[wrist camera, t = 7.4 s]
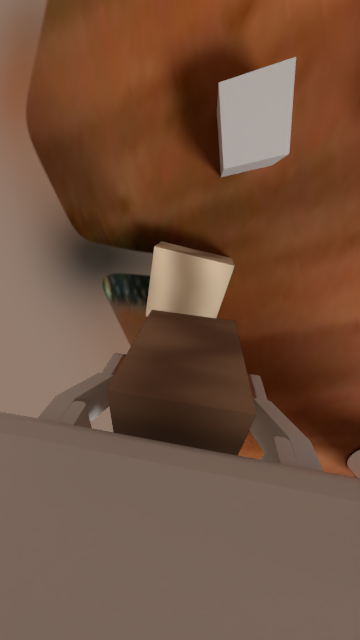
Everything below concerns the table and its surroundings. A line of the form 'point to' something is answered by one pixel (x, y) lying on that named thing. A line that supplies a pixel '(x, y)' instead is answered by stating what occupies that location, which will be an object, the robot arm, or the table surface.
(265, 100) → the grey painted cube
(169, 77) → the table surface
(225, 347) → the walnut block
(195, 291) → the beech pedestal block
